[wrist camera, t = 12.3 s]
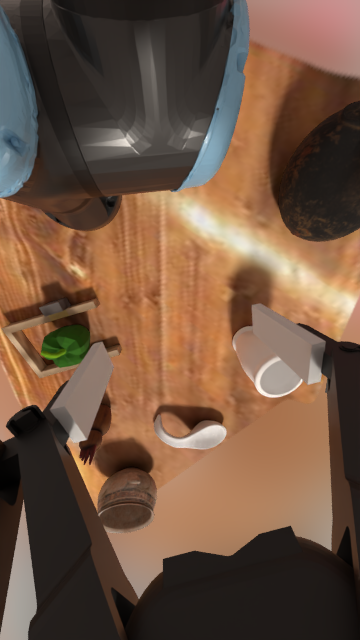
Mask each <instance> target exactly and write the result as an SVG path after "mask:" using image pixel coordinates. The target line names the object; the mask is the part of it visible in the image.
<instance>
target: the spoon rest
mask: <svg viewBox="0 0 360 640" xmlns="http://www.w3.org/2000/svg"><path fill="white" fill-rule="evenodd" d="M154 430H155V433H156V434H157V436H158V437H159V438H160V439H161V440H162V441H163V442H165V443H166V444H168V445H170V446H173V447H177V448H194V449H208V448H212V447H214V446H216V445H218V444H219V443H220V442H222V441H223V439H224V438H225V436H226V428H225V427H224V426H223V425H222V424H220V423H219V422H216V421H209V420H205V421H201V422H199V423H198V424H197V425H196V426H195V427H194V428H193V429H192V431H191V432H190V433H188V434H187V435H185V436H183V437H175V436H173V435H170V434H169V433H168V432H166V430H165V429H164V427H163V425H162V421H161V415H160V414H158V416H157V418H156V420H155V422H154Z"/></svg>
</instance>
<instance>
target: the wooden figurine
mask: <svg viewBox="0 0 360 640" xmlns="http://www.w3.org/2000/svg"><path fill="white" fill-rule="evenodd" d="M110 424H111V409H110V408H109V407H108V406H107V405H100V406H99V409H98V412H97V414H96V417H95V420H94V422H93V425H92V428H91V430H90V433H89V436H88V438H87V440H84V441H80V442H79V447H80V449H81V452H80V457H79V458H82V459H81V460H82V461H83V460H84V458H85V460H84V465H85V464H86V461H87V459H88V457H89V455H90V459H89V465H91V462H92V459H93V456H94V453H95V450H97V449H98V448H99V446H100V445H101V442H102V436H103V435H104V434H106V433H107V431H108V430H109V427H110Z"/></svg>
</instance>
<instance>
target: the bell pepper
mask: <svg viewBox="0 0 360 640" xmlns="http://www.w3.org/2000/svg"><path fill="white" fill-rule="evenodd" d="M89 345H90V332H89V331H88V330H87V329H86V328H85V327H83V326H81V325H71V326H65V327H62V328H59V329H57V330H55V331H53V332H51V333H49V334H48V335H47V336H45V337H44V340H43V344H42V350H41V355H42V356H44V357H45V358H46V359H48V360H53V361H54V363H55V365H57V366H58V367H59V368H62V367H69V366H73V365H77V364H79V363H81V361H82V360H83V359H84V357H85V356H86V354H87V353H88V350H89Z"/></svg>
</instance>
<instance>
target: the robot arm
mask: <svg viewBox="0 0 360 640" xmlns="http://www.w3.org/2000/svg"><path fill="white" fill-rule="evenodd" d="M249 32H250V30H249V15H248V6H247V3H246V0H0V198H3V199H6V200H10V201H13V202H17V203H21V204H24V205H28V206H31V207H35V208H39V209H41V210H42V211H43V212H44V213H45V214H46V215H47V216H49V217H50V218H51V219H53V220H54V221H56V222H57V223H59V224H61V225H63V226H65V227H68V228H71V229H75V230H81V231H92V230H97V229H100V228H102V227H104V226H106V225H107V224H108V223H110V222H111V221H112V219H113V218H114V217H115V215H116V214H117V212H118V210H119V207H120V204H121V200H122V195H127V194H137V193H146V192H156V191H166V190H170V191H171V192H178V191H180V190H182V189H184V188H190V187H197V186H201V185H204V184H205V183H206V182H208V181H209V180H210V179H212V178H213V177H214V175H215V174H216V173H217V171H218V169H219V168H220V166H221V164H222V162H223V160H224V158H225V156H226V153H227V150H228V148H229V145H230V142H231V139H232V136H233V133H234V129H235V126H236V122H237V118H238V114H239V110H240V105H241V101H242V95H243V90H244V83H245V75H244V74H243V69H244V66H245V62H246V59H247V56H248V50H249ZM252 322H253V333H254V334H255V335H256V336H257V337H258V338H259V339H260V340H261V341H262V342H263V343H264V344H265V345H266V346H267V347H269V348H270V349H271V350H272V351H273V352H274V353H275V354H276V355H277V356H278V357H279V358H280V359H281V360H282V361H283V362H284V363H285V364H286V365H288V366H289V367H290V368H291V369H292V370H293V371H294V372H295V373H296V374H297V375H298V376H299V377H300V378H301V379H302V380H303V381H304V382H306V383H307V384H312V383H316V382H320V381H321V374H323V375H325V376H326V377H327V378H328V379H327V384H326V391H325V392H326V393H327V399H328V422H329V445H330V467H331V489H332V513H333V525H332V551H330V550H328V549H327V548H325V547H323V546H322V545H320V544H318V543H316V542H313V541H311V540H308V539H305V538H302V537H296V536H295V534H294V532H293V530H292V528H291V526H288V527H285V528H281V529H277V530H273V531H269V532H266V533H262V534H259V535H258V536H256V537H255V538H254V539H253V540H251V541H250V542H249V543H247V544H246V545H245V546H244V547H242V548H241V549H240V550H238V551H237V552H236V553H235V554H233V555H231V556H222V555H216V554H211V553H205V552H199V551H192V552H188V553H184V554H180V555H177V556H173V557H169V558H165V559H163V572H161V573H160V574H159V575H158V576H157V577H156V578H155V579H154V580H153V581H152V582H151V583H150V585H149V586H148V587H147V588H146V590H145V591H144V593H143V594H142V596H141V597H140V599H138V597H137V595H136V593H135V591H134V589H133V587H132V585H131V584H130V582H129V581H128V579H127V577H126V576H125V574H124V572H123V569H122V567H121V565H120V563H119V560H118V558H117V556H116V554H115V551H114V549H113V547H112V545H111V542H110V540H109V538H108V535H107V533H106V531H105V529H104V526H103V524H102V522H101V520H100V517H99V515H98V513H97V510H96V508H95V506H94V504H93V501H92V499H91V497H90V495H89V492H88V490H87V488H86V485H85V483H84V481H83V479H82V476H81V474H80V472H79V470H78V467H77V465H76V463H75V461H74V458H73V456H72V454H71V451H70V449H69V447H68V446H67V444H66V442H67V440H68V438H69V437H70V438H71V440H72V441H73V442H74V443H76V442H80V441H84V440H87V438H88V436H89V433H90V430H91V428H92V425H93V422H94V420H95V417H96V414H97V412H98V409H99V406H100V403H101V401H102V398H103V395H104V393H105V390H106V387H107V385H108V382H109V379H110V376H111V374H112V371H113V368H114V366H113V364H112V362H111V360H110V357H109V355H108V353H107V351H106V349H105V346H104V344H103V342H99V343H94V344H93V345H92V347H91V348H90V350H89V351H88V353H87V354H86V356H85V357H84V359H83V360H82V362H81V363H80V365H79V366H78V368H77V369H76V371H75V372H74V374H73V375H72V377H71V378H70V380H68V381H66V382H65V383H64V384H63V385H62V386H61V387H60V388H59V389H58V391H57V392H56V394H55V395H54V396H53V398H52V400H51V401H50V402H49V404H48V405H47V407H46V408H45V409H44V411H43V412H42V411H41V410H40V409H39V407H38V406H37V405H31V406H28V407H26V408H24V409H22V410H20V411H19V412H17V413H16V414H15V415H14V416H13V417H12V418H11V419H10V420H9V421H8V422H7V425H6V427H7V428H8V429H9V430H10V432H11V433H12V434H13V435H14V436H15V437H13V438H11V439H9V440H7V441H5V442H2V441H1V440H0V632H1V626H2V620H3V615H4V609H5V603H6V597H7V591H8V586H9V580H10V574H11V568H12V562H13V557H14V551H15V545H16V540H17V534H18V528H19V522H20V517H21V511H22V505H23V499H24V504H25V512H26V520H27V528H28V535H29V544H30V551H31V559H32V568H33V575H34V583H35V591H36V599H37V611H36V614H35V615H34V617H33V618H32V620H31V622H30V626H29V631H28V640H360V345H358V344H356V343H352V342H342V341H341V342H337V341H335V340H333V339H331V338H329V337H328V336H326V335H324V334H322V333H320V332H319V331H317V330H314V329H313V328H311V327H309V326H307V325H304V324H300V323H298V324H295V323H293V322H292V321H290V320H288V319H286V318H285V317H283V316H281V315H280V314H278V313H276V312H274V311H273V310H271V309H269V308H268V307H266V306H264V305H262V304H261V303H259V304H255V305H252Z"/></svg>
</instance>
